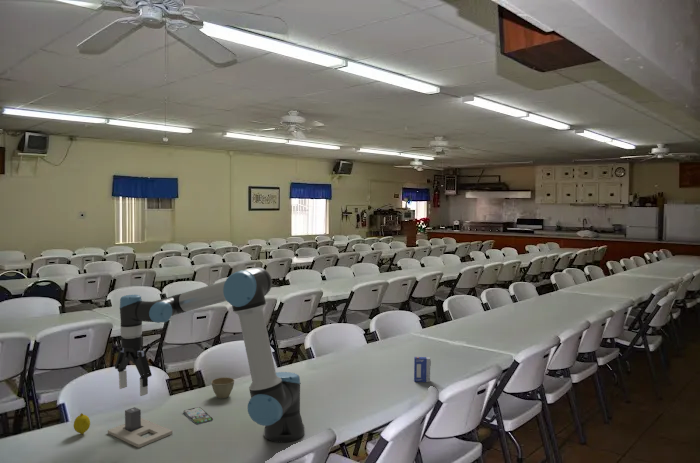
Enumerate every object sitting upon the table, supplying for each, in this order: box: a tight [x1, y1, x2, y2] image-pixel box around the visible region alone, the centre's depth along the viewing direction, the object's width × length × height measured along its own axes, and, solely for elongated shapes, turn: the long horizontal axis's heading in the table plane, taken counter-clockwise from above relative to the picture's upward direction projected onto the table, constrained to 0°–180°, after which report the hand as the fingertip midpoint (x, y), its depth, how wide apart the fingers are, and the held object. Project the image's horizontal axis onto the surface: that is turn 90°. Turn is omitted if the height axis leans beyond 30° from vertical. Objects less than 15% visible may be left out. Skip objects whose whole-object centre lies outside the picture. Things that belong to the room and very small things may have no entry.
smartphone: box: [183, 406, 214, 425], centre depth 213 cm, size 7×1×15 cm
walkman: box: [413, 356, 432, 383], centre depth 257 cm, size 8×3×12 cm, turn 86°
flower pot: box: [210, 376, 235, 399], centre depth 235 cm, size 10×10×7 cm
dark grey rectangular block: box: [124, 406, 142, 432], centre depth 199 cm, size 4×4×8 cm
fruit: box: [73, 413, 91, 435], centre depth 195 cm, size 6×6×8 cm
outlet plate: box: [107, 417, 173, 448], centre depth 197 cm, size 20×14×1 cm
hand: (133, 391), depth 198 cm, fingers open, 13 cm apart
